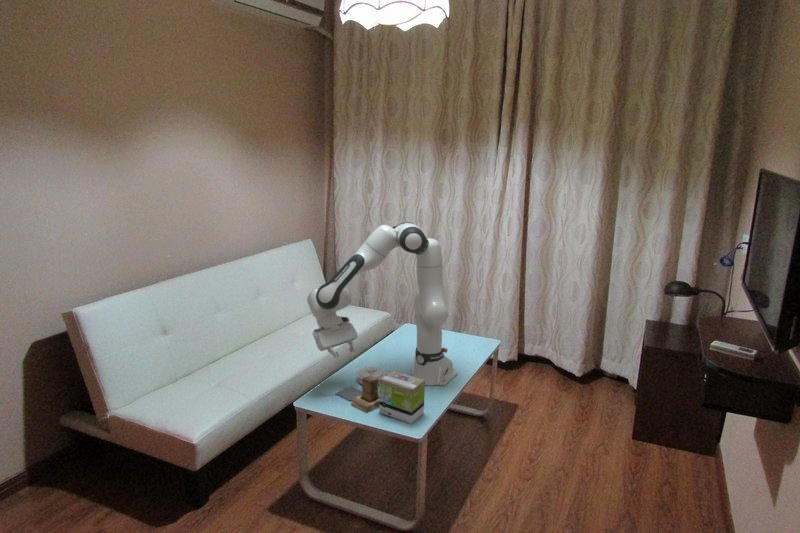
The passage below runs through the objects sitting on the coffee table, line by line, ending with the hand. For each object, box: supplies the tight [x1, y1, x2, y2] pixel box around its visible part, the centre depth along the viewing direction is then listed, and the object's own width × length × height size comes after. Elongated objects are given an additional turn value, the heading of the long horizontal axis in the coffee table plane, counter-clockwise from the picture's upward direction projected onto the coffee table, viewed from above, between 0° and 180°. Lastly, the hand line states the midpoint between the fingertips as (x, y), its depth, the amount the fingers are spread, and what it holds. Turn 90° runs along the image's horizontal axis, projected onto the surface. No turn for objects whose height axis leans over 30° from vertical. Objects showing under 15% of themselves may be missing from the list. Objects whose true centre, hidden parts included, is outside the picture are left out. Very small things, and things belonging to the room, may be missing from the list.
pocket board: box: [350, 391, 380, 414], centre depth 210 cm, size 12×9×2 cm
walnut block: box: [361, 375, 379, 403], centre depth 209 cm, size 4×4×11 cm
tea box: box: [378, 370, 426, 425], centre depth 201 cm, size 15×10×15 cm
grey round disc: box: [356, 366, 387, 386], centre depth 230 cm, size 13×13×5 cm
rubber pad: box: [334, 385, 362, 402], centre depth 218 cm, size 9×9×1 cm
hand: (345, 354), depth 215 cm, fingers open, 8 cm apart
